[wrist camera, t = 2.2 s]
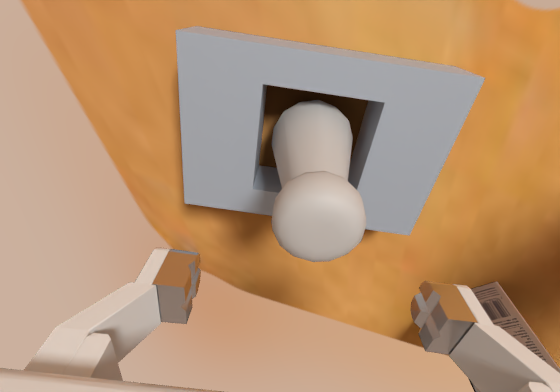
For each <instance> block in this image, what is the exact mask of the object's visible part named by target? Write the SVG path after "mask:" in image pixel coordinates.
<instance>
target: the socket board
mask: <svg viewBox="0 0 560 392" xmlns="http://www.w3.org/2000/svg"><path fill="white" fill-rule="evenodd" d="M176 44H177V64H178V83H179V103H180V123H181V142H182V162H183V182H184V201H185V203H186V204H193V205H200V206H207V207H214V208H221V209H228V210H235V211H242V212H249V213H256V214H263V215H270V216H272V214H273V207H274V202H275V198H276V196H277V195H278V194H279V192H280V191H281V190H282V187H281V182H280V178H279V174H278V170H277V168H275V167H268V166H261V165H259V160H260V150H261V141H262V131H263V122H264V112H265V103H266V93H267V85H272V86H278V87H285V88H292V89H298V90H305V91H311V92H318V93H324V94H331V95H338V96H344V97H351V98H357V99H364V100H368V103H367V107H366V110H365V113H364V117H363V120H362V124H361V127H360V131H359V134H358V138H357V141H356V144H355V148H354V151H353V155H352V158H351V162H350V166H349V175H348V182H349V183H350V184H351V185H352V186H353V187H354V188H355V189H356V190H357V191H358V192H359V193H360V196H361V198H362V201H363V205H364V209H365V214H366V228H365V229H368V230H375V231H382V232H389V233H396V234H403V235H410V233H411V231H412V229H413V227H414V225H415V223H416V221H417V219H418V217H419V215H420V212H421V210H422V208H423V206H424V204H425V202H426V200H427V198H428V196H429V194H430V192H431V190H432V188H433V186H434V183H435V181H436V179H437V177H438V175H439V173H440V171H441V169H442V167H443V165H444V163H445V161H446V159H447V157H448V154H449V152H450V150H451V148H452V146H453V144H454V142H455V140H456V138H457V136H458V134H459V132H460V130H461V128H462V125H463V123H464V121H465V119H466V117H467V115H468V113H469V111H470V109H471V107H472V105H473V103H474V101H475V99H476V96H477V94H478V92H479V90H480V88H481V86H482V84H483V82H484V80H485V78H484V77H481V76H479V75H476V74H473V73H471V72H468V71H466V70H463V69H461V68H458V67H455V66H449V65H443V64H436V63H430V62H424V61H417V60H411V59H404V58H398V57H391V56H385V55H379V54H372V53H366V52H359V51H353V50H346V49H340V48H334V47H327V46H321V45H314V44H308V43H302V42H295V41H289V40H282V39H276V38H269V37H263V36H257V35H250V34H244V33H237V32H231V31H224V30H218V29H212V28H205V27H199V26H195V27H190V28H184V29H179V30H176Z"/></svg>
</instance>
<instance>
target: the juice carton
mask: <svg viewBox="0 0 560 392" xmlns="http://www.w3.org/2000/svg"><path fill="white" fill-rule="evenodd" d="M471 290H472V292H473V293H474V295H475V296H476V298H477V300H478V301H479V303H480V304H481V306H482V307H483V309H484V310H485V312H486V314H487V315H488V317H489V318H490V320H491V321H492V323H493V325H496V326H499V327H500V328H502V329H503V330H504V331H506V332H507V333H508V334H509V335H511V336H512V337H513V338H515V339H516V340H517V341H519V342H520V343H521V344H522V345H524V346H525V347H526V348H528V349H529V350H530V351H532V352H533V353H534V354H535V355H537V356H538V357H539V358H541V359H542V360H543V361H544V362H546V363H547V364H548V365H550V366H551V367H552V368H554V369H555V370H556V371H557V372H559V373H560V369H559V367H558V366H557V364H556V363H555V362H554V360H553V359H552V357H551V356H550V355H549V353H548V352H547V350H546V349H545V348H544V346H543V345H542V343H541V342H540V341H539V339H538V338H537V336H536V335H535V334H534V332H533V331H532V329H531V328H530V327H529V325H528V324H527V322H526V321H525V320H524V318H523V317H522V315H521V314H520V313H519V311H518V310H517V308H516V307H515V306H514V304H513V303H512V301H511V300H510V299H509V297H508V296H507V294H506V293H505V292H504V290H503V289H502V287H501V286H500V285H499V283H498V282H497V281H496V282H493V283H490V284H486V285H483V286H480V287H476V288H473V289H471ZM469 380H470V379H469ZM470 383H471V385H472V387H473V389H474V391H475V392H480V390H479V389H478V388H477V387H476V386H475V385H474V384H473V382H472V381H471V380H470Z"/></svg>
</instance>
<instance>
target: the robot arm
mask: <svg viewBox="0 0 560 392" xmlns="http://www.w3.org/2000/svg"><path fill="white" fill-rule="evenodd" d="M199 263H200V254H199V253H195V252H188V251H182V250H175V249H166V248H159V247H157V248H156V249H154V250H153V252H152V253H151V255H150V257H149V258H148V260H147V262H146V264H145V265H144V267H143V269H142V270H141V272H140V274H139V276H138V277H137V279H136V281H135V282H129V283H128V284H126V285H124V286H123V287H121V288H119V289H118V290H116V291H114V292H113V293H111V294H110V295H108V296H106V297H105V298H103V299H101V300H100V301H98V302H96V303H95V304H93V305H92V306H90V307H88V308H87V309H85V310H83V311H82V312H80V313H79V314H77V315H75V316H74V317H72V318H70V319H69V320H67V321H65V322H64V323H62V324H60V325H59V326H57V327H56V328H55V329H54V331H53V332H52V333H51V335H50V336H49V337H48V339H47V340H46V341H45V343H44V344H43V345H42V347H41V348H40V349H39V351H38V352H37V353H36V354H35V356H34V357H33V359H32V360H31V361H30V363H29V364H28V365H27V367H26V368H25V369H24V370H14V369H5V368H0V392H221V391H212V390H203V389H192V388H183V387H173V386H165V385H155V384H145V383H136V382H126V381H123V380H122V376H121V373H120V369H119V366H118V362H119V361H121V360H122V359H123V358H124V357H125V356H126V355H127V354H128V353H129V352H130V351H131V350H132V349H134V348H135V347H136V346H137V345H138V344H139V343H140V342H141V341H142V340H143V339H144V338H146V337H147V335H149V334H150V333H151V332H152V331H153V330H154V329H155V328H156V327H157V326H158V325H160V323H161V322H170V323H182V324H186V323H187V321H188V318H189V315H190V312H191V309H192V299H193V298H194V297H195V296H196V294H197V291H198V287H199V283H200V273H201V270H200V269H199V268H198V266H199ZM419 289H420V291H421V293H419V294H417V295H415V296H414V298H413V300H412V302H411V315H412V318H413V321H414V323H416V324H417V325H418V326H419V327H420V331H419V333H418V334H419V336H420V339H421V341H422V344H423V346H424V349H425V351H427V352H434V353H441V354H448V355H449V356H450V358H451V359H452V360H453V361H454V362H455V363H456V364H457V366H458V367H459V368H460V369H461V370H462V371H463V372H464V373H465V374H466V376H467V377H468V378H469V379H470V380H471V381H472V382H473V384H474V385H475V386H476V387H477V388H478V389H479V390H480V392H560V373H559V372H557V371H556V370H555V369H554V368H552V367H551V366H550V365H548V364H547V363H546V362H544V361H543V360H542V359H541V358H539V357H538V356H537V355H535V354H534V353H533V352H532V351H530V350H529V349H528V348H526V347H525V346H524V345H522V344H521V343H520V342H519V341H517V340H516V339H515V338H513V337H512V336H511V335H509V334H508V333H507V332H506V331H504V330H503V329H502V328H500V327H499V326H496V325H493V323H492V321H491V320H490V318H489V317H488V315H487V314H486V312H485V310H484V309H483V307H482V306H481V304H480V303H479V301H478V300H477V298H476V296H475V295H474V293H473V292H472V290H471V289H470V288H469V287H468V286H466V285H457V284H448V283H439V282H430V281H424V282H423V283H422V284H421V285H420V287H419Z"/></svg>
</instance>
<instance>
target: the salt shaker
mask: <svg viewBox="0 0 560 392" xmlns="http://www.w3.org/2000/svg"><path fill="white" fill-rule="evenodd" d="M352 140H353V137H352V133H351V128H350V123H349V120H348V119H347V118H346V117H345V116H344V115H343V114H342V113H341V112H340V111H339V109H338V108H337V107H335V106H333V105H330V104H328V103H325V102H323V101H320V100H312V101H304V102H299V103H297V104H296V105H294V106H292V107H290V108H289V109H287V110H285V111H284V112H283V113H282V115H281V117H280V118H279V120H278V122H277V123H276V125H275V126H274V129H273V137H272V148H273V153H274V157H275V161H276V165H277V170H278V174H279V178H280V182H281V187H282V190H281V191H280V192H279V194H278V195H277V196H276V198H275V202H274V207H273V214H272V229H273V232H274V234H275V236H276V238H277V240H278V242H279V245H280V246H281V247H283V248H284V249H285V250H286V251H288V252H289V253H290V254H291V255H293V256H295V257H298V258H301V259H305V260H308V261H312V262H320V261H331V260H334V259H336V258H339V257H341V256H344V255H346V254H348V253H349V252H350V251H351V250H352V249H353V248H354V247H356V246H357V245H358V244H359V243H360V242H361V240H362V237H363V234H364V231H365V228H366V214H365V209H364V205H363V201H362V198H361V196H360V193H359V192H358V191H357V190H356V189H355V188H354V187H353V186H352V185H351V184H350V183H349V182H348V175H349V166H350V157H351V148H352Z"/></svg>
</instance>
